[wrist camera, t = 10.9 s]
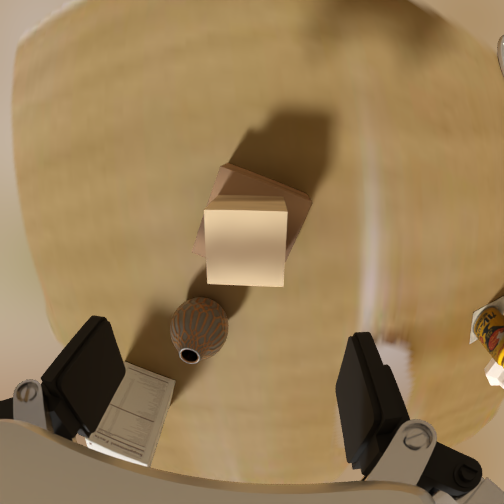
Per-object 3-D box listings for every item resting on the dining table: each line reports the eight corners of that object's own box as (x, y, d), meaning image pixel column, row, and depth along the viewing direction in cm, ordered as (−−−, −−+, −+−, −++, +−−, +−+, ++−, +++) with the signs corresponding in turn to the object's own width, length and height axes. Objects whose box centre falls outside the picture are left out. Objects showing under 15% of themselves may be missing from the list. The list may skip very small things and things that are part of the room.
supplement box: (122, 390, 45) (89, 459, 29) (123, 359, 41) (81, 436, 26) (170, 408, 45) (146, 483, 30) (177, 380, 42) (148, 466, 26)
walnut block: (228, 162, 30) (220, 166, 25) (305, 193, 30) (312, 202, 26) (202, 236, 33) (191, 252, 28) (274, 263, 34) (275, 283, 29)
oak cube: (217, 194, 26) (203, 209, 20) (283, 196, 26) (287, 211, 20) (219, 255, 28) (207, 283, 23) (280, 257, 28) (283, 286, 22)
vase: (242, 311, 36) (235, 357, 28) (210, 340, 38) (198, 386, 30) (199, 278, 35) (179, 319, 26) (170, 311, 37) (148, 353, 29)
